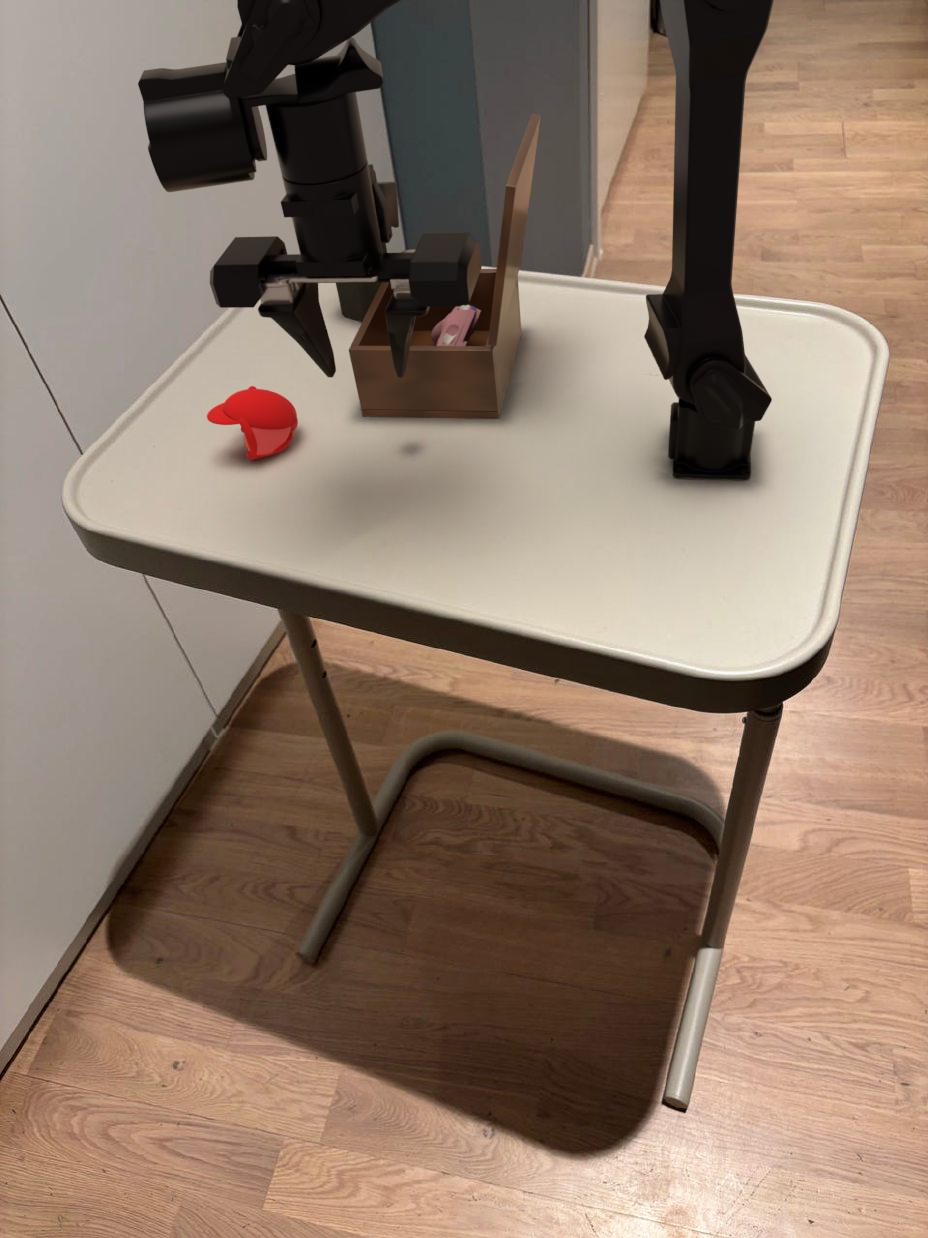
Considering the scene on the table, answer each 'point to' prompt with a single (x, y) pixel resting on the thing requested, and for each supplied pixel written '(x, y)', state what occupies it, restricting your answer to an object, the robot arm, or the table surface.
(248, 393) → the cap
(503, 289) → the lid
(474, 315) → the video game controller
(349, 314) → the candle
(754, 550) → the table surface
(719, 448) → the robot arm
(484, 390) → the chest
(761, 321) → the table surface
